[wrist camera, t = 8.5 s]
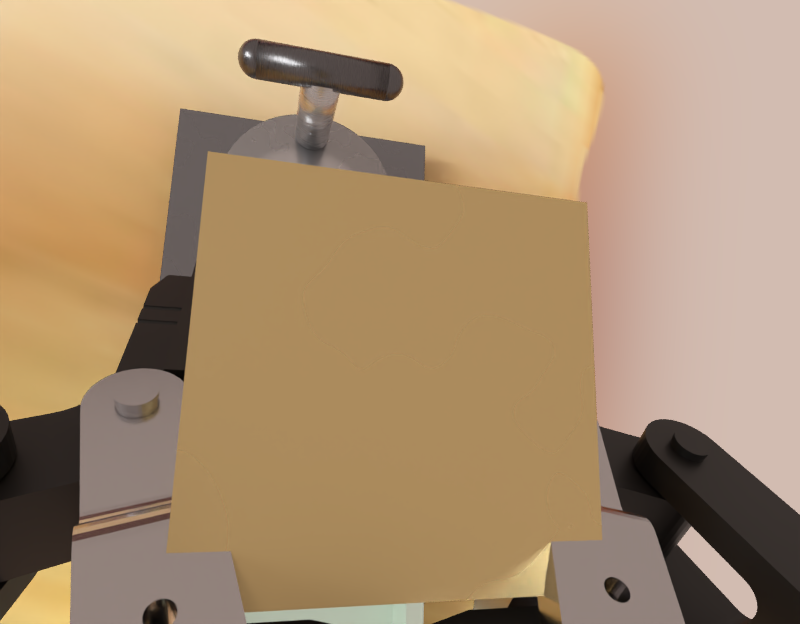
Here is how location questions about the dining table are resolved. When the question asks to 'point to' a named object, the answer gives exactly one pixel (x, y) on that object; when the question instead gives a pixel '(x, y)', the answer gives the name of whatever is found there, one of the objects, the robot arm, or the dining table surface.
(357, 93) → the crank base
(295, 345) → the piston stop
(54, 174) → the dining table surface
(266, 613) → the tray
